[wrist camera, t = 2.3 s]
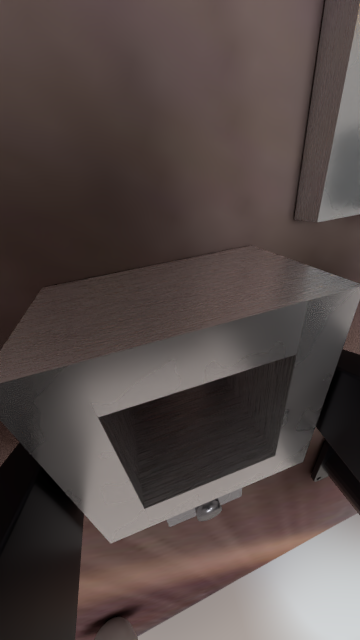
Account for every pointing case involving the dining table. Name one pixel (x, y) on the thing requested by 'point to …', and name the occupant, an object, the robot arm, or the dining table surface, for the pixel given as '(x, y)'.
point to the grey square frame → (174, 380)
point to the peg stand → (333, 121)
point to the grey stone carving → (116, 630)
